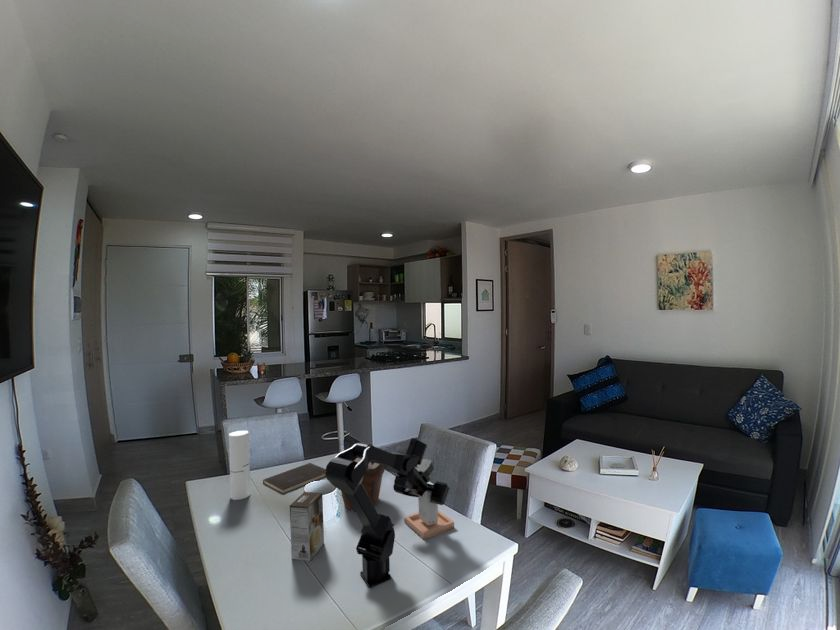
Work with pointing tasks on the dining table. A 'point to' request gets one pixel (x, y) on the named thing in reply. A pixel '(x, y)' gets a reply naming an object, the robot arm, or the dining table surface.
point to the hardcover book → (295, 477)
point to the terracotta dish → (430, 530)
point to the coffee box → (306, 526)
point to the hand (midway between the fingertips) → (430, 498)
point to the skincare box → (428, 509)
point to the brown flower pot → (369, 482)
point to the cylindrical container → (239, 464)
